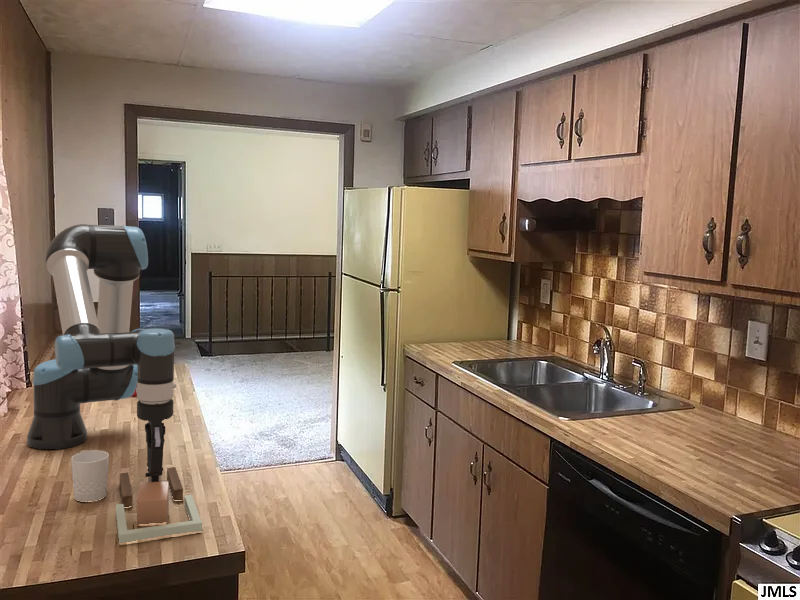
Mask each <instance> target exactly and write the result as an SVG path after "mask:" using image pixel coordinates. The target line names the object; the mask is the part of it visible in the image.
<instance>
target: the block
mask: <svg viewBox="0 0 800 600" xmlns="http://www.w3.org/2000/svg"><path fill="white" fill-rule="evenodd" d="M137 490H138V491H137V498H136V516H137V518H136V519H137V521H136V522H137V526H138V525H139V524H149V523H163V522H167V523H168V521H167V519H168V520H169V504H170V503H169V484H168V481H167V480H165V481H161V482H148V481H147V482H139V485H138V489H137Z"/></svg>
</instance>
